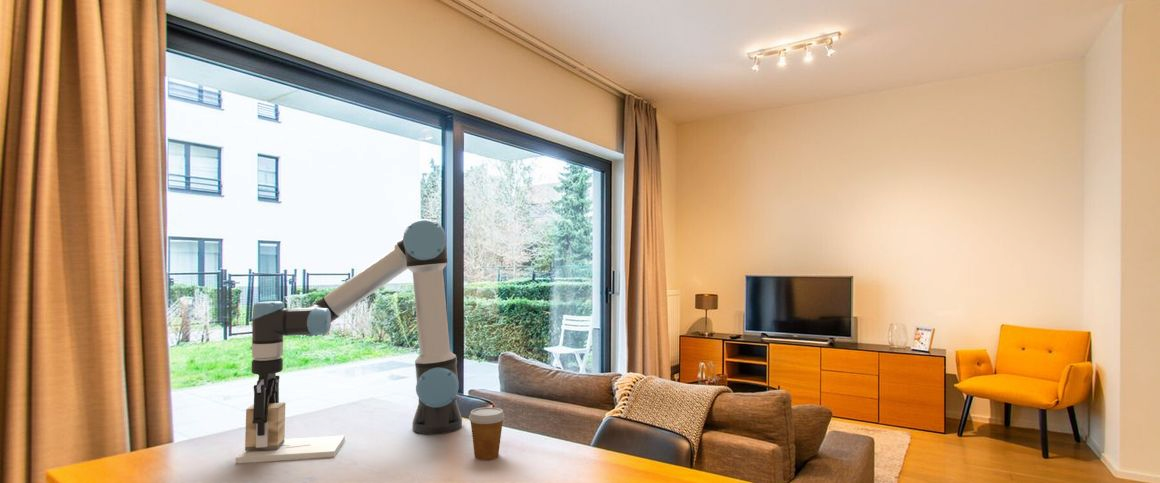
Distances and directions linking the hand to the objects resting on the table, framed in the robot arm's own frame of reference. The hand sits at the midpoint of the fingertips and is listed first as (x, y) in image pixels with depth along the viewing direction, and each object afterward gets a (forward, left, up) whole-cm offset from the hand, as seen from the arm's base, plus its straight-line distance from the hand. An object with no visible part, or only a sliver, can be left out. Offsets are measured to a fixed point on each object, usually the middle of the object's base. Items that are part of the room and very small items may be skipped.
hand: (266, 442), depth 156 cm
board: (-7, 0, -3) cm, 8 cm away
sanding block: (0, 0, -1) cm, 1 cm away
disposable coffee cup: (-59, +15, -3) cm, 61 cm away
